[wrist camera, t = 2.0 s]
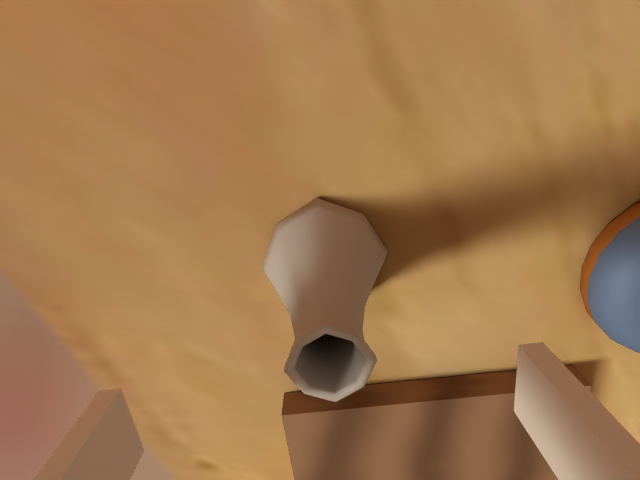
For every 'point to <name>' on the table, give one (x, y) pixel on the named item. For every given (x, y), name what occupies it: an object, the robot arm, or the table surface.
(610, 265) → the doughnut
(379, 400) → the walnut board
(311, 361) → the flask
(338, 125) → the table surface
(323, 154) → the table surface
